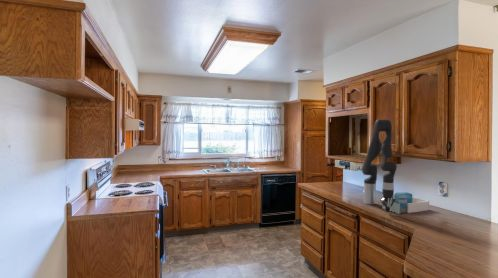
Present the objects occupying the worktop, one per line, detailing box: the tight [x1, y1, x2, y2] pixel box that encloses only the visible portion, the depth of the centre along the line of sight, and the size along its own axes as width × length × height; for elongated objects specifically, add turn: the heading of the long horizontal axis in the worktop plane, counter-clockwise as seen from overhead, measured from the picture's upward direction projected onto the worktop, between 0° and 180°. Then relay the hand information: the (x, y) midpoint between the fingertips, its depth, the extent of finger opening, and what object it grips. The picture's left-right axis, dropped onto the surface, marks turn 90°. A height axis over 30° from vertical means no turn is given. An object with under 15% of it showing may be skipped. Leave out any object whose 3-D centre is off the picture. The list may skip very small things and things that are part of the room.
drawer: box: [381, 203, 407, 215], centre depth 225 cm, size 15×23×7 cm, turn 111°
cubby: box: [406, 196, 430, 214], centre depth 229 cm, size 15×22×7 cm
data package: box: [393, 191, 413, 209], centre depth 226 cm, size 12×4×12 cm, turn 95°
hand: (387, 211), depth 215 cm, fingers closed
